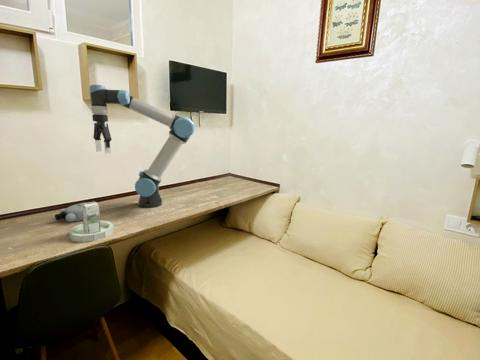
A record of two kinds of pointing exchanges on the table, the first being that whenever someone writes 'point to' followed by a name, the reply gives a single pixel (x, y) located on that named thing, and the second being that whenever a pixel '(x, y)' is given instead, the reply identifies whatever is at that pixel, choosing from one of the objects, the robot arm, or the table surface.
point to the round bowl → (81, 236)
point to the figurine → (71, 213)
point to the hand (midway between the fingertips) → (103, 152)
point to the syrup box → (91, 217)
